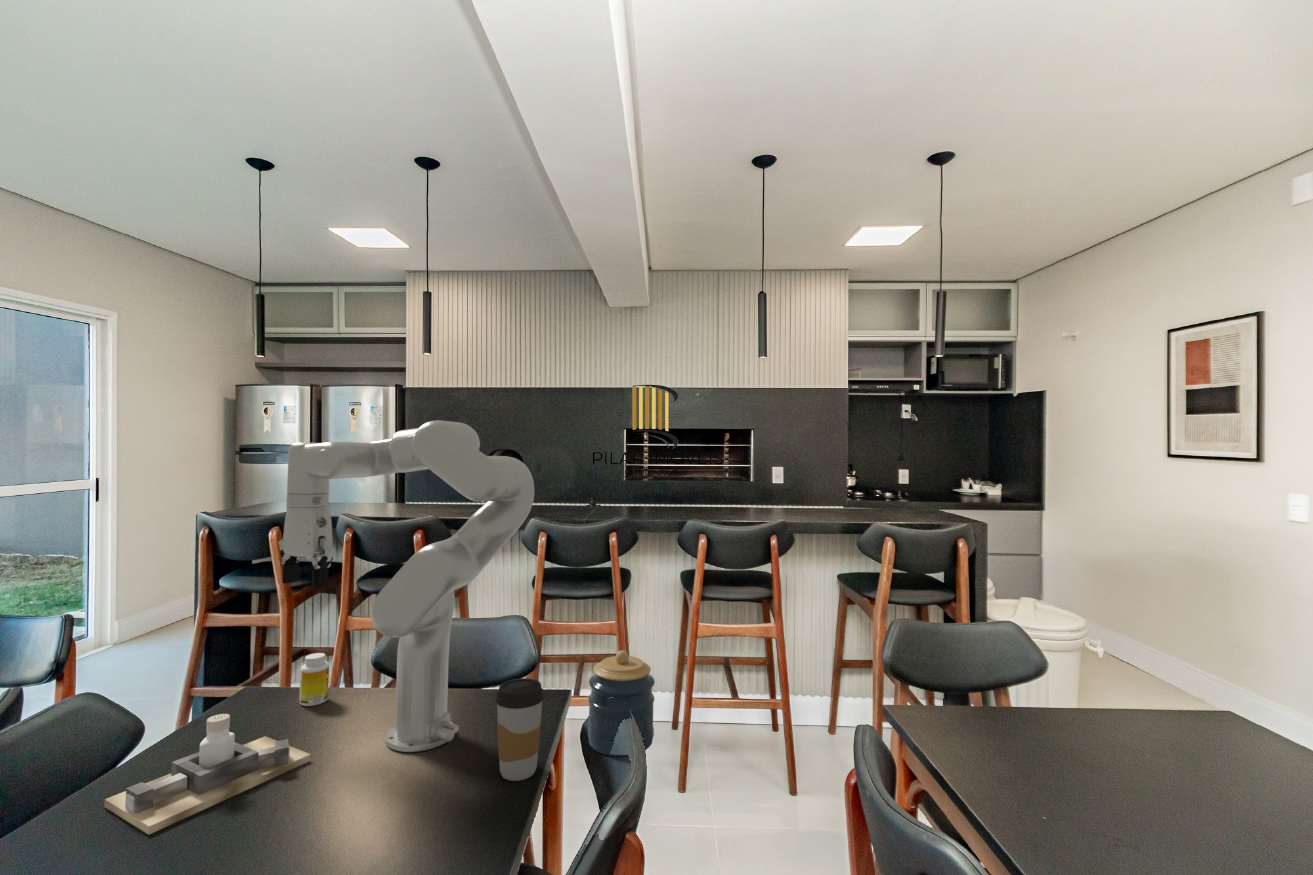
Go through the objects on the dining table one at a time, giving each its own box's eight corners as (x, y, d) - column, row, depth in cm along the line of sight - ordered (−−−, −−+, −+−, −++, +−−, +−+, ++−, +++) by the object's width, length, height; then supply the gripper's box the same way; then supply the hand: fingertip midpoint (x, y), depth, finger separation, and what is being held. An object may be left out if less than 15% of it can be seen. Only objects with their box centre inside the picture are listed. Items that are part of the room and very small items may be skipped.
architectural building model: (265, 742, 114) (265, 720, 114) (310, 760, 108) (311, 737, 108) (104, 807, 93) (105, 779, 93) (148, 834, 86) (149, 805, 86)
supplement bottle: (330, 702, 133) (331, 656, 133) (301, 709, 129) (303, 661, 129) (325, 694, 137) (326, 649, 137) (297, 700, 133) (298, 654, 134)
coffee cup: (551, 771, 105) (553, 685, 106) (511, 790, 99) (513, 699, 100) (524, 754, 111) (526, 673, 112) (484, 771, 105) (486, 685, 105)
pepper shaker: (224, 779, 99) (226, 721, 99) (196, 782, 98) (198, 723, 98) (235, 767, 103) (237, 711, 103) (208, 769, 102) (210, 713, 102)
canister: (612, 720, 126) (614, 636, 126) (665, 736, 119) (667, 647, 120) (573, 746, 115) (575, 653, 115) (630, 765, 108) (631, 666, 109)
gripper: (351, 503, 123) (348, 586, 122) (300, 498, 131) (297, 577, 130) (316, 505, 116) (313, 593, 116) (264, 501, 124) (261, 583, 124)
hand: (304, 584), depth 123 cm, fingers open, 9 cm apart
